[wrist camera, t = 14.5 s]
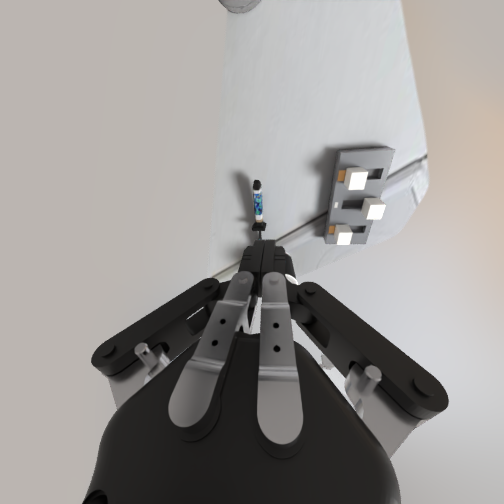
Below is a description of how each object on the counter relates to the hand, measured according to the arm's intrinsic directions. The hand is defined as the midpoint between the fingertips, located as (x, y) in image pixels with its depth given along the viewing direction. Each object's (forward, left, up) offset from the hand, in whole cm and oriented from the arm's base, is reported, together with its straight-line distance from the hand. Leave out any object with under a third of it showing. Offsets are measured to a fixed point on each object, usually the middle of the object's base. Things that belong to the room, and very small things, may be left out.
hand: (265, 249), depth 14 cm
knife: (+18, -5, -32) cm, 37 cm away
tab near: (+3, +14, -30) cm, 34 cm away
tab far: (+15, +14, -30) cm, 37 cm away
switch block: (+9, +16, -32) cm, 37 cm away
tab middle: (+9, +19, -30) cm, 37 cm away
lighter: (+80, +19, -32) cm, 88 cm away
